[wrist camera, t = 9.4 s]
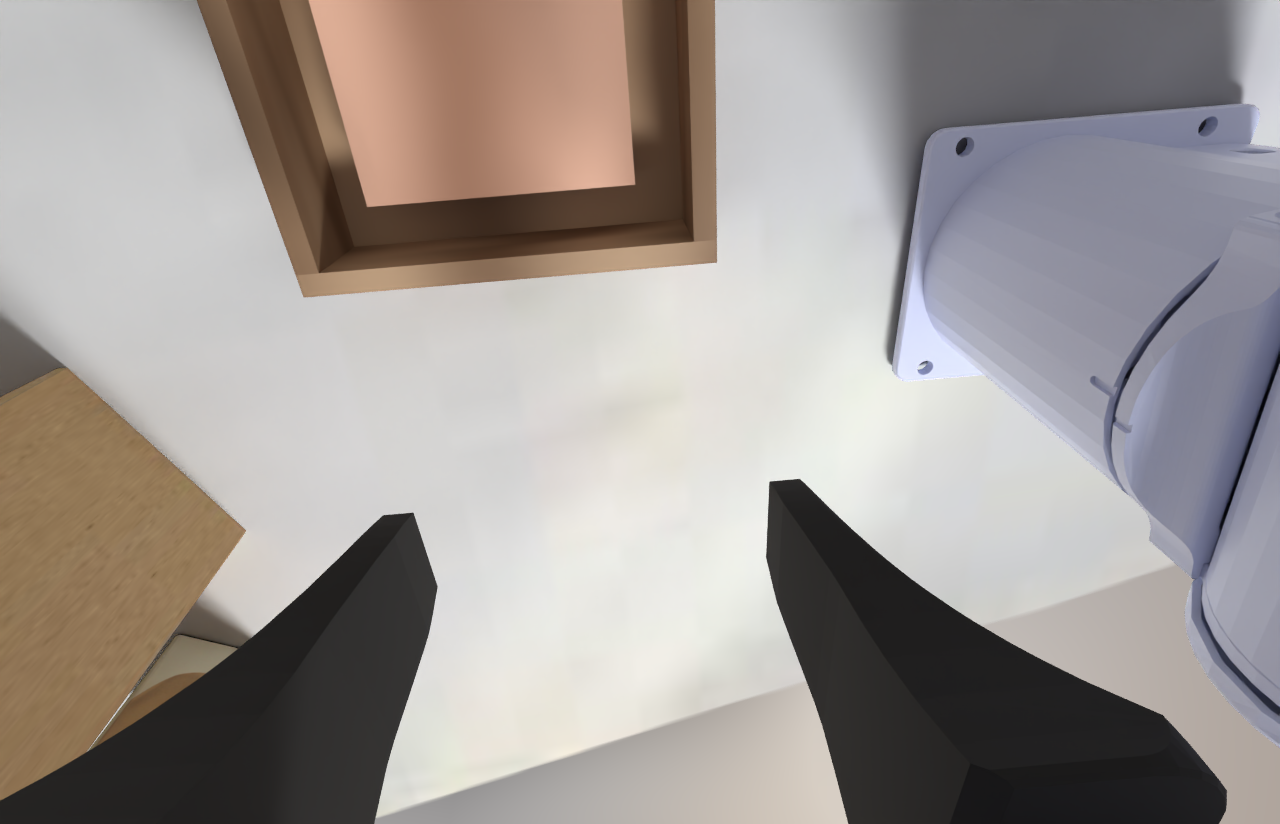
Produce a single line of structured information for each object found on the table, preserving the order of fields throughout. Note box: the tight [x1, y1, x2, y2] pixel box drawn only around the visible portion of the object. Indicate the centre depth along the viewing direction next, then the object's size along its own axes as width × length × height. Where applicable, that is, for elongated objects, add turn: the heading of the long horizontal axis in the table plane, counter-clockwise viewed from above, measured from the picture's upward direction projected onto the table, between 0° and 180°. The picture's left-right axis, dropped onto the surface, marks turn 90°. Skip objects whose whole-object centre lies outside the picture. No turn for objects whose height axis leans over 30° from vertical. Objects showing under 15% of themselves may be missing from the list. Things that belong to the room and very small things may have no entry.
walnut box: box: [197, 0, 717, 297], centre depth 15 cm, size 11×9×3 cm
